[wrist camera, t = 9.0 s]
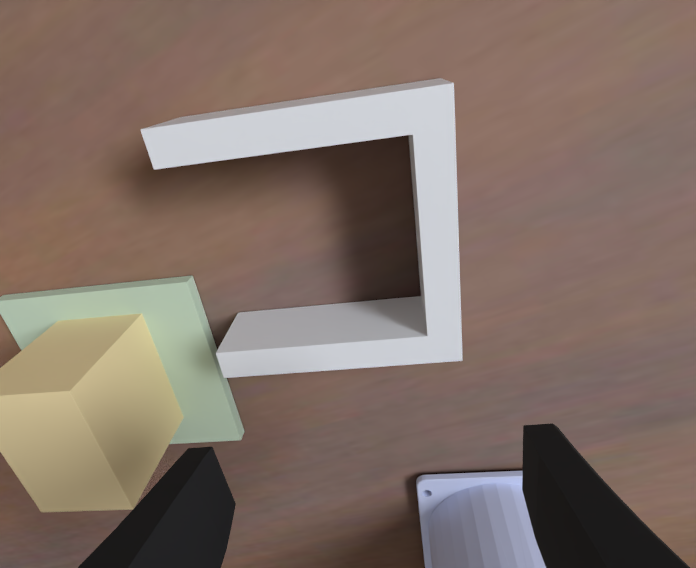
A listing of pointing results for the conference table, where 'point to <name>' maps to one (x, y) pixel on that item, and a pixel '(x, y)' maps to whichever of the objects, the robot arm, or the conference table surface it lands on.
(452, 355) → the frame
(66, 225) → the conference table surface
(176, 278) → the mat
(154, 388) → the block
